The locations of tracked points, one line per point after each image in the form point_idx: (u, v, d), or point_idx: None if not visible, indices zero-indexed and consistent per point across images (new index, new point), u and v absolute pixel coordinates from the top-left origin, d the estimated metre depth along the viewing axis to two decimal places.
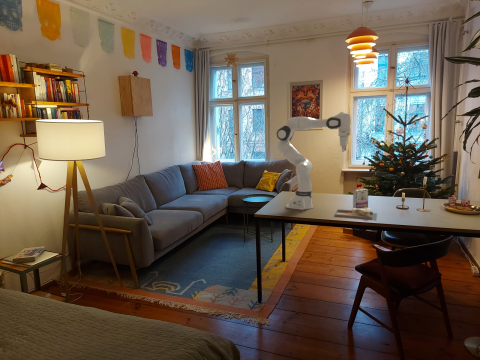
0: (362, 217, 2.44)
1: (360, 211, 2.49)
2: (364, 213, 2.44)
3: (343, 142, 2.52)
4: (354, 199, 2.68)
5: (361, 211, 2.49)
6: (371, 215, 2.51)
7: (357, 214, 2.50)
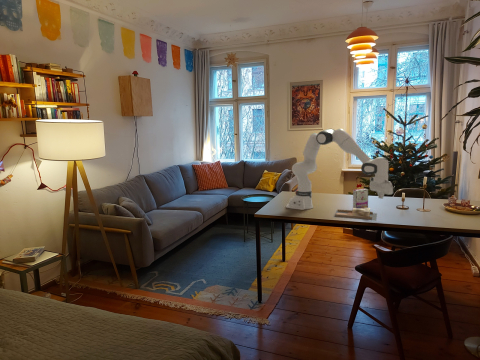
0: (362, 217, 2.44)
1: (360, 211, 2.49)
2: (364, 213, 2.44)
3: None
4: (354, 199, 2.68)
5: (361, 211, 2.49)
6: (371, 215, 2.51)
7: (357, 214, 2.50)
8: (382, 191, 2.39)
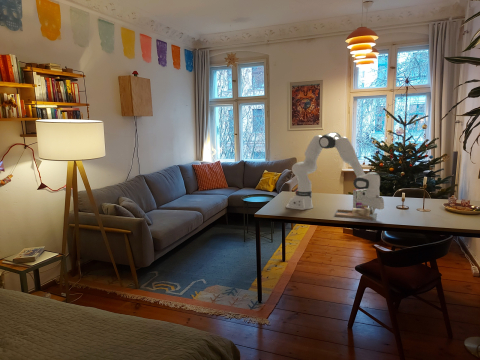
0: (362, 217, 2.44)
1: (360, 211, 2.49)
2: (364, 213, 2.44)
3: None
4: (354, 199, 2.68)
5: (361, 211, 2.49)
6: (371, 215, 2.51)
7: (357, 214, 2.50)
8: (373, 206, 2.43)
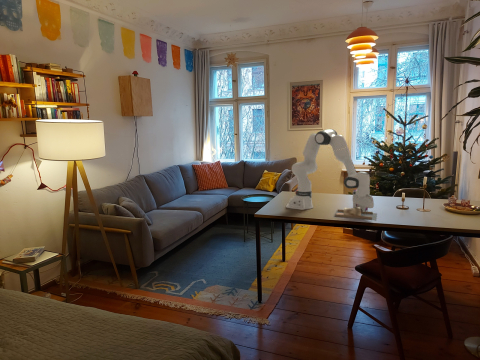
0: (362, 217, 2.44)
1: (351, 211, 2.51)
2: (356, 213, 2.46)
3: None
4: None
5: (352, 211, 2.51)
6: (371, 215, 2.51)
7: (348, 214, 2.52)
8: (364, 205, 2.46)
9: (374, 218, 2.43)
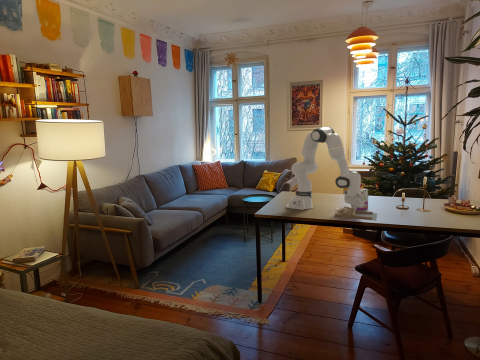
0: (362, 217, 2.44)
1: (344, 211, 2.52)
2: (350, 212, 2.48)
3: None
4: None
5: (345, 210, 2.52)
6: (371, 215, 2.51)
7: None
8: (354, 204, 2.48)
9: (374, 218, 2.43)
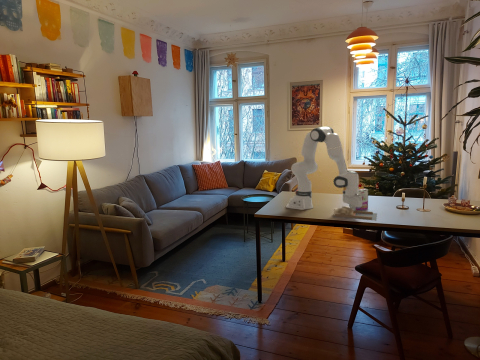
0: (362, 217, 2.44)
1: (342, 210, 2.52)
2: (348, 212, 2.49)
3: None
4: None
5: (343, 210, 2.52)
6: (371, 215, 2.51)
7: None
8: (352, 204, 2.49)
9: (374, 218, 2.43)
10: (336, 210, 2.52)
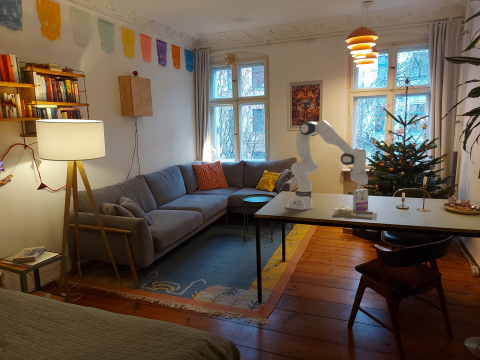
0: (362, 217, 2.44)
1: (342, 210, 2.52)
2: (348, 212, 2.49)
3: None
4: (354, 199, 2.68)
5: (343, 210, 2.52)
6: (371, 215, 2.51)
7: None
8: (359, 181, 2.45)
9: (374, 218, 2.43)
10: (336, 210, 2.52)
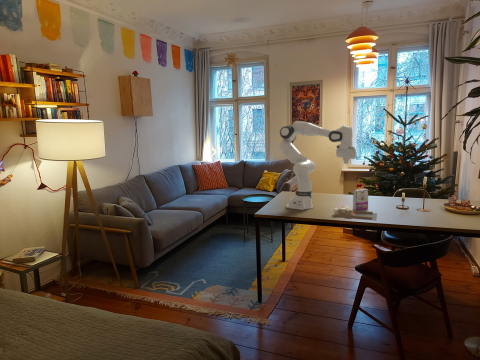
0: (362, 217, 2.44)
1: (342, 210, 2.52)
2: (348, 212, 2.49)
3: None
4: (354, 199, 2.68)
5: (343, 210, 2.52)
6: (371, 215, 2.51)
7: None
8: (347, 156, 2.64)
9: (374, 218, 2.43)
10: (336, 210, 2.52)
